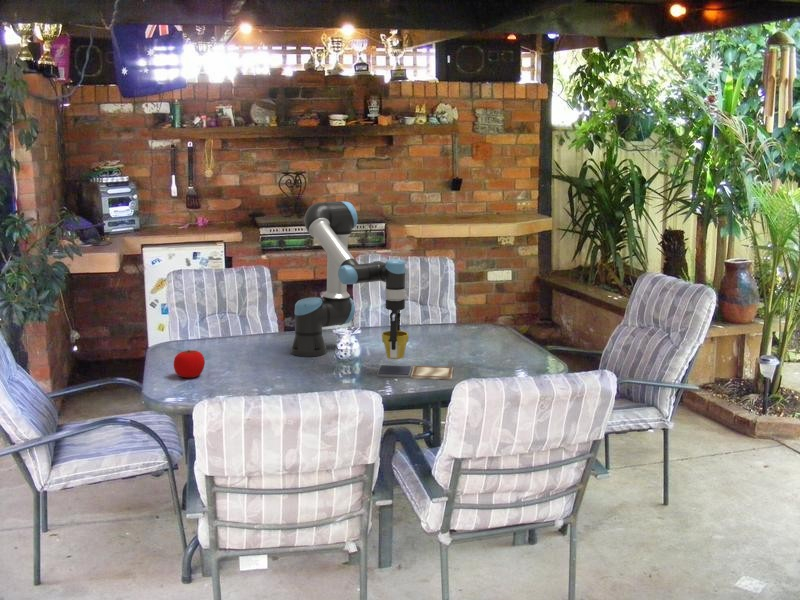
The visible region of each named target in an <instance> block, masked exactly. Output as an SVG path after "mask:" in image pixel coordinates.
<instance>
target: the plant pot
mask: <svg viewBox="0 0 800 600" xmlns="http://www.w3.org/2000/svg"><path fill="white" fill-rule="evenodd" d="M392 338H394V337H392ZM381 339H382V343H383V344H384V348H385V354H386V357H387V358H388V359H390V360H399V359H400V360H401V359H402V358H404V357H405V352H406V348H407V343H409V332H407V331H404V330H400V331H397V358H391V357H390V341H388V339H390V330H387V331H386V330H385V331H384V332H382V333H381Z"/></svg>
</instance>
